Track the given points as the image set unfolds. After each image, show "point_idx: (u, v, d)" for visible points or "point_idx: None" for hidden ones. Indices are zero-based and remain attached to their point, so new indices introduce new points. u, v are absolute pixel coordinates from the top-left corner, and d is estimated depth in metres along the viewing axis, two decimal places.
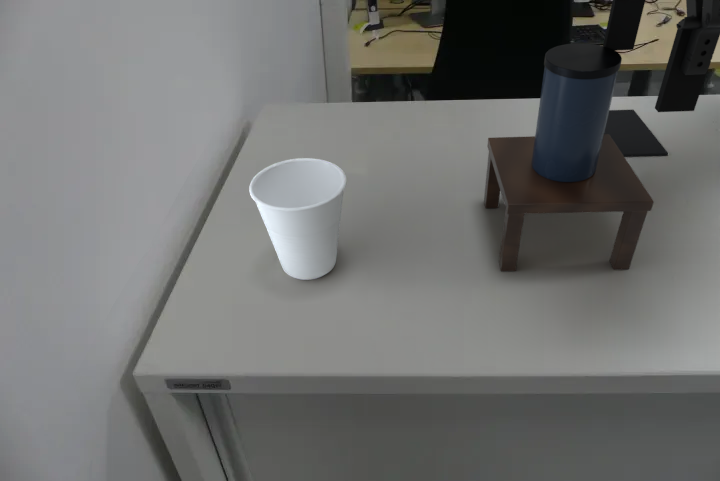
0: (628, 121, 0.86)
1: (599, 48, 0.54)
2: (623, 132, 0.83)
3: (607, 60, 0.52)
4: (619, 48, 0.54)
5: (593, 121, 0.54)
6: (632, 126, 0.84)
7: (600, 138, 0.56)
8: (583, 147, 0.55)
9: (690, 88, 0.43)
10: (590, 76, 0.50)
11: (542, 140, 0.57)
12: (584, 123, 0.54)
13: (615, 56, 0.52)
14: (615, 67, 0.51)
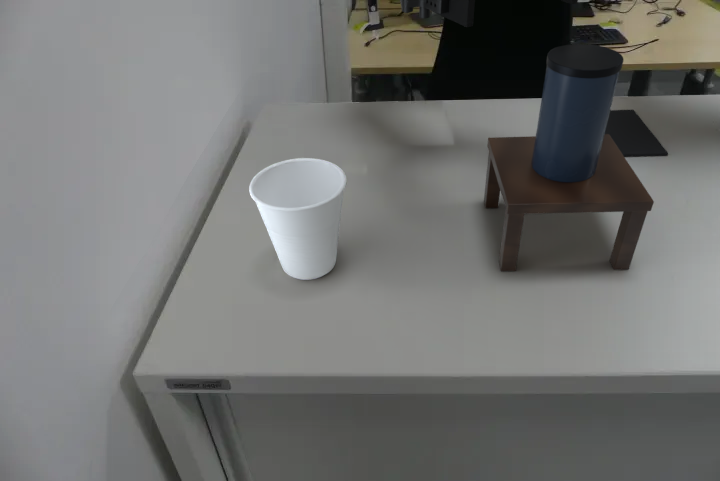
0: (628, 121, 0.86)
1: (601, 49, 0.54)
2: (623, 132, 0.83)
3: (609, 60, 0.52)
4: None
5: (594, 121, 0.54)
6: (632, 126, 0.84)
7: (601, 139, 0.56)
8: (583, 147, 0.55)
9: (457, 3, 0.56)
10: (592, 75, 0.51)
11: (542, 140, 0.57)
12: (585, 123, 0.54)
13: (617, 56, 0.53)
14: (617, 67, 0.51)
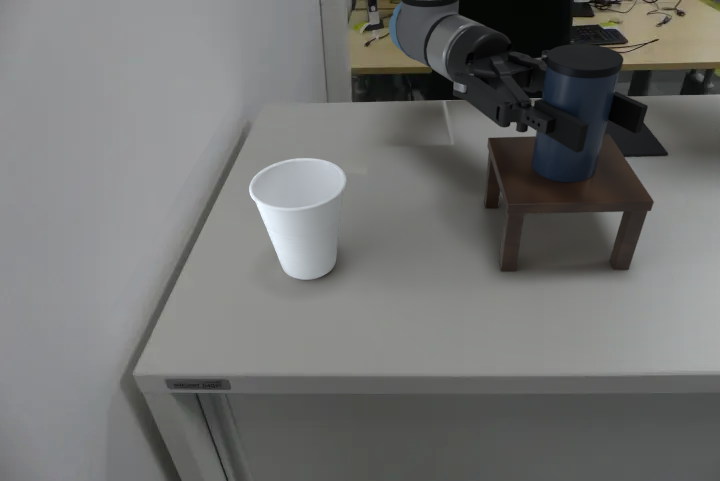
0: None
1: (601, 49, 0.54)
2: (623, 132, 0.83)
3: (609, 60, 0.52)
4: (637, 119, 0.54)
5: (594, 121, 0.54)
6: None
7: (600, 139, 0.56)
8: None
9: (566, 126, 0.52)
10: (592, 75, 0.51)
11: (542, 140, 0.57)
12: None
13: (617, 56, 0.53)
14: (617, 67, 0.51)
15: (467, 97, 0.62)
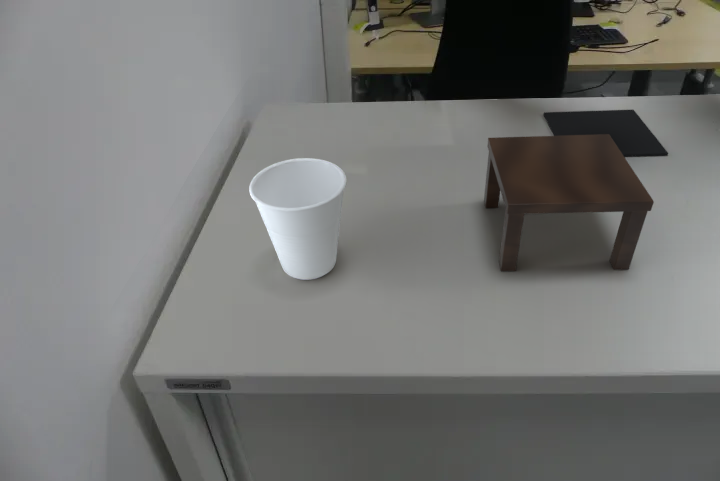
0: (628, 121, 0.86)
1: None
2: (623, 132, 0.83)
3: None
4: None
5: None
6: (632, 126, 0.84)
7: None
8: None
9: None
10: None
11: None
12: None
13: None
14: None
15: None
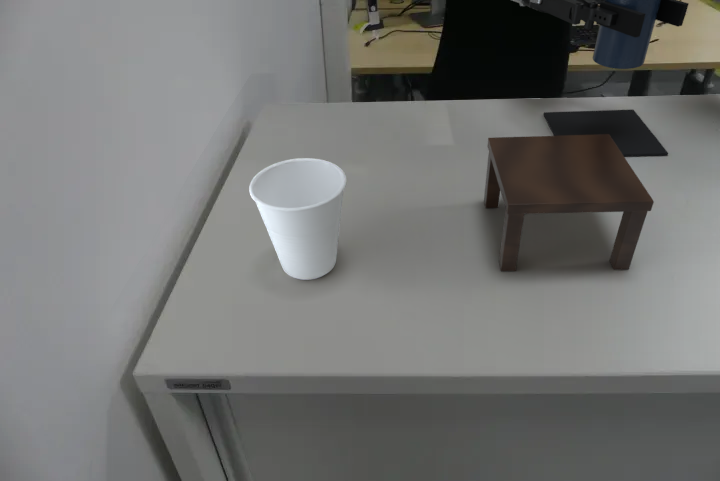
0: (628, 121, 0.86)
1: None
2: (623, 132, 0.83)
3: None
4: (679, 15, 0.71)
5: (647, 15, 0.70)
6: (632, 126, 0.84)
7: (650, 32, 0.73)
8: (637, 37, 0.72)
9: (627, 17, 0.69)
10: None
11: (605, 35, 0.74)
12: None
13: None
14: None
15: (542, 7, 0.78)
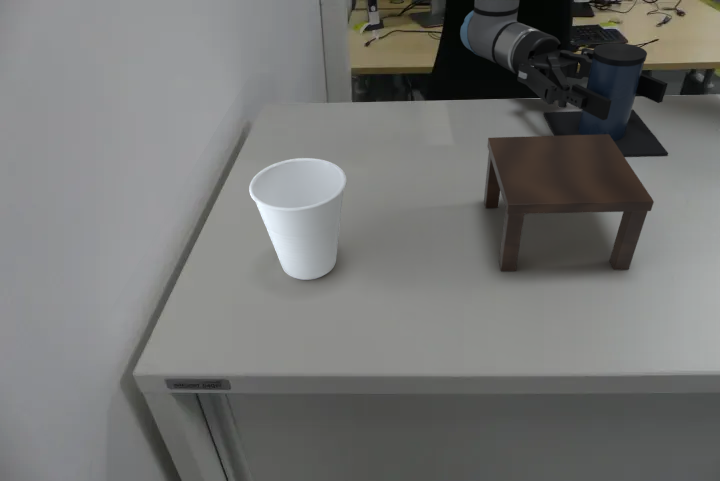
0: (628, 121, 0.86)
1: (631, 46, 0.78)
2: None
3: (637, 54, 0.75)
4: (660, 93, 0.78)
5: (626, 96, 0.77)
6: (632, 126, 0.84)
7: (630, 109, 0.79)
8: (618, 115, 0.79)
9: (595, 102, 0.76)
10: (626, 64, 0.74)
11: None
12: (620, 98, 0.77)
13: (642, 51, 0.76)
14: (643, 58, 0.74)
15: (527, 82, 0.85)
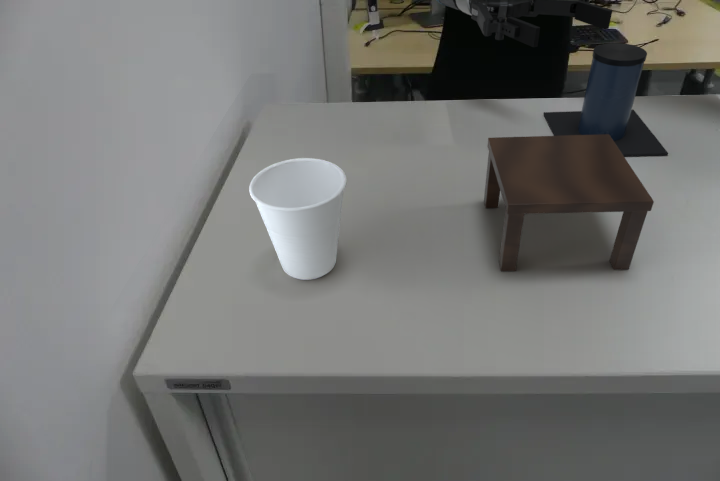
0: (628, 121, 0.86)
1: (631, 46, 0.78)
2: None
3: (637, 54, 0.75)
4: (605, 20, 0.85)
5: (626, 96, 0.77)
6: (632, 126, 0.84)
7: (630, 109, 0.79)
8: (618, 115, 0.79)
9: (526, 30, 0.81)
10: (626, 64, 0.74)
11: (588, 111, 0.81)
12: (620, 98, 0.77)
13: (642, 51, 0.76)
14: (643, 58, 0.74)
15: (477, 19, 0.91)
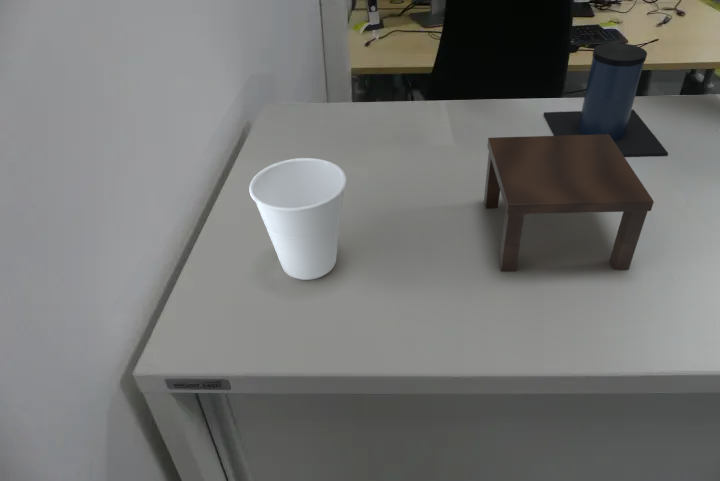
0: (628, 121, 0.86)
1: (631, 46, 0.78)
2: None
3: (637, 54, 0.75)
4: None
5: (626, 96, 0.77)
6: (632, 126, 0.84)
7: (630, 109, 0.79)
8: (618, 115, 0.79)
9: None
10: (626, 64, 0.74)
11: (588, 111, 0.81)
12: (620, 98, 0.77)
13: (642, 51, 0.76)
14: (643, 58, 0.74)
15: None
